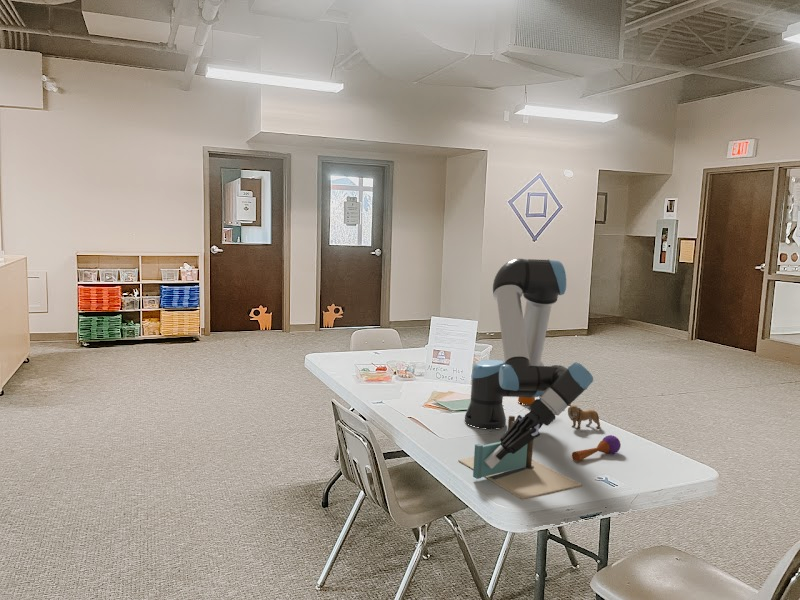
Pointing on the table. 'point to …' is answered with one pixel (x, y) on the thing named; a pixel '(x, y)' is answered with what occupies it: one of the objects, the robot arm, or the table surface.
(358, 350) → the table surface
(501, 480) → the mat
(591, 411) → the lion figurine
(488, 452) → the fence gate
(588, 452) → the purple and orange maraca
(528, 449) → the fence frame
